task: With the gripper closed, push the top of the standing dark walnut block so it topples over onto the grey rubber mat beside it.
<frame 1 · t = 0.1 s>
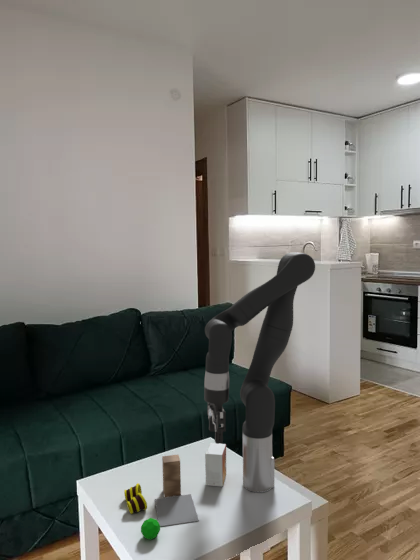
hand: (215, 436, 135), 17 cm above the table, tool pointing down, fingers open, 8 cm apart
opera glasses: (135, 506, 129), on the table
polyhedron: (150, 537, 115), on the table
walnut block: (171, 492, 136), on the table
mat: (175, 509, 127), on the table
small box: (216, 480, 143), on the table
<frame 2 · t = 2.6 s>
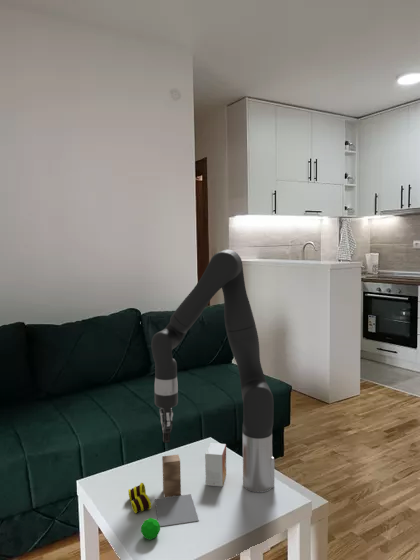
hand: (166, 441, 144), 12 cm above the table, tool pointing down, fingers closed
opera glasses: (139, 505, 130), on the table
everything else where it was.
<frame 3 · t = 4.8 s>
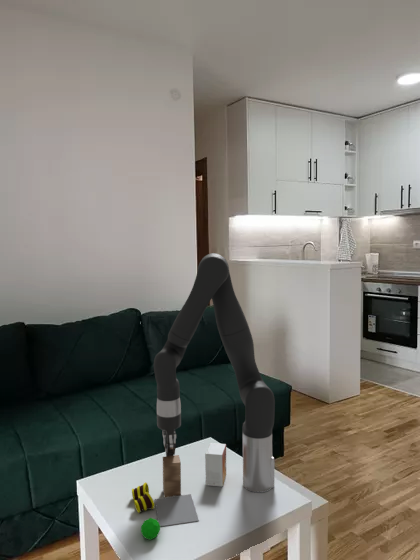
hand: (169, 464, 139), 7 cm above the table, tool pointing down, fingers closed
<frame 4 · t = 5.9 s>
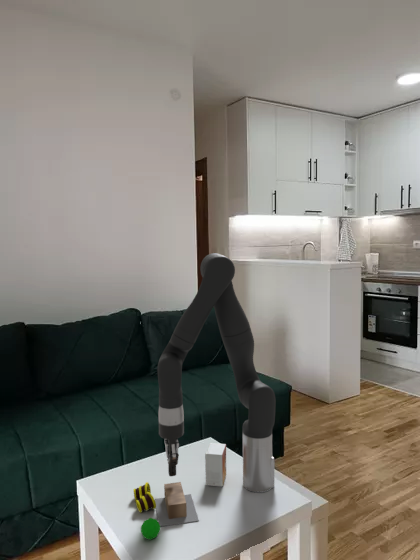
hand: (172, 474, 133), 7 cm above the table, tool pointing down, fingers closed
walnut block: (172, 489, 133), point 2 cm above the table, tilted 90°, touching mat
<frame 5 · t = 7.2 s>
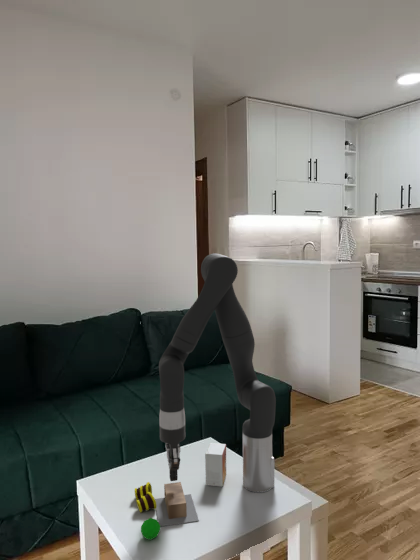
hand: (173, 479, 130), 7 cm above the table, tool pointing down, fingers closed
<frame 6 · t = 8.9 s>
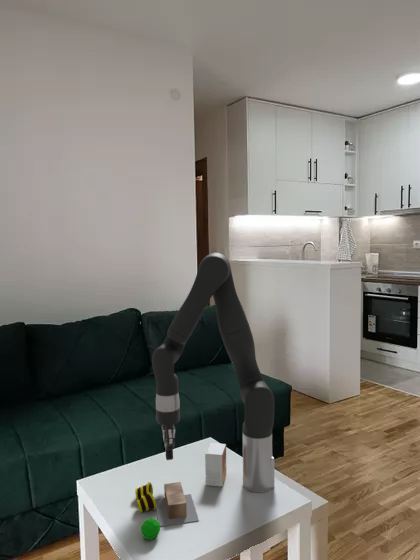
hand: (169, 458, 141), 8 cm above the table, tool pointing down, fingers closed
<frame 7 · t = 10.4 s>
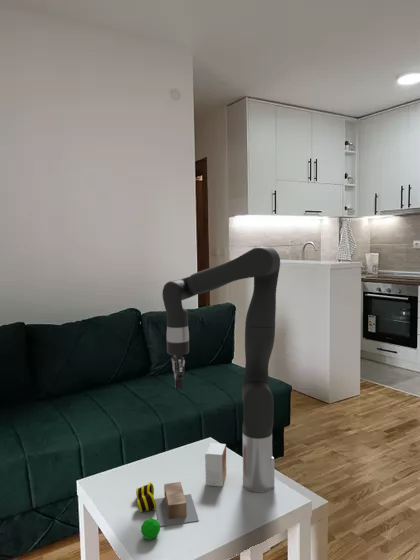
hand: (178, 389, 150), 27 cm above the table, tool pointing down, fingers closed
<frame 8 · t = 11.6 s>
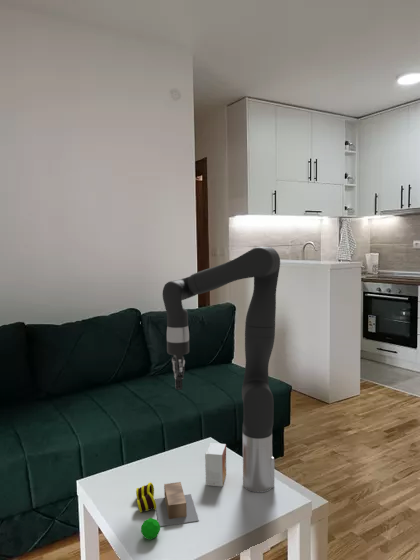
hand: (178, 389, 150), 27 cm above the table, tool pointing down, fingers closed
at the end: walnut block tilted 90°; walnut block inside the target area (2.8 cm from its centre), point 2.2 cm above the table; the gripper is holding nothing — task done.
